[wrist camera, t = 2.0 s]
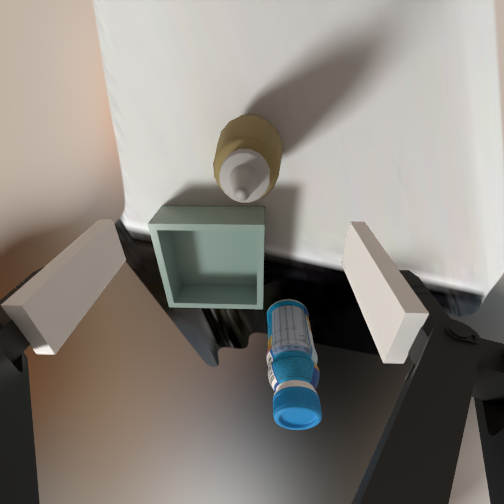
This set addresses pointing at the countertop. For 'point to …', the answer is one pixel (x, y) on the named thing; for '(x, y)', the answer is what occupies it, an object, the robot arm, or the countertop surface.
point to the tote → (210, 255)
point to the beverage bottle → (292, 366)
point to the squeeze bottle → (247, 158)
